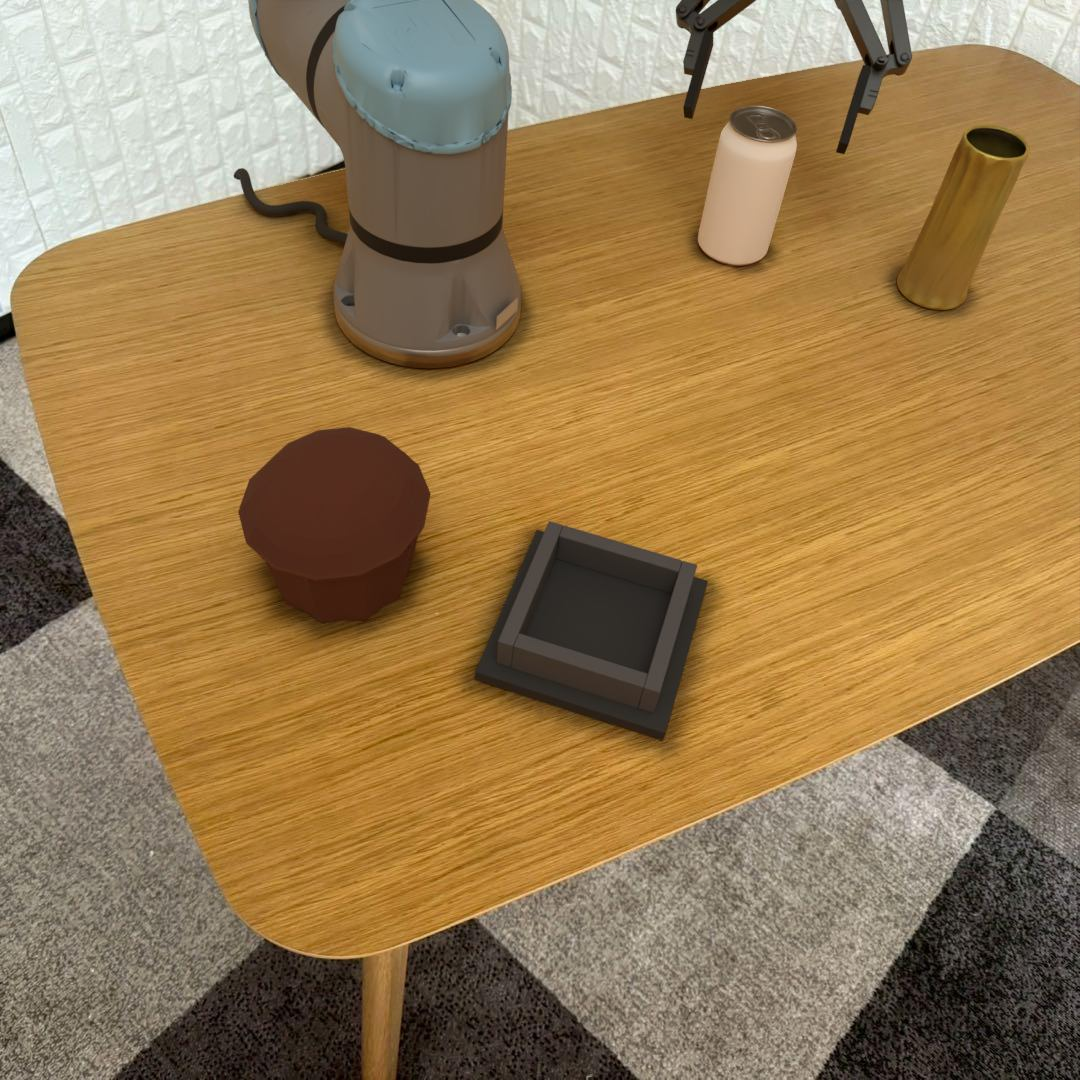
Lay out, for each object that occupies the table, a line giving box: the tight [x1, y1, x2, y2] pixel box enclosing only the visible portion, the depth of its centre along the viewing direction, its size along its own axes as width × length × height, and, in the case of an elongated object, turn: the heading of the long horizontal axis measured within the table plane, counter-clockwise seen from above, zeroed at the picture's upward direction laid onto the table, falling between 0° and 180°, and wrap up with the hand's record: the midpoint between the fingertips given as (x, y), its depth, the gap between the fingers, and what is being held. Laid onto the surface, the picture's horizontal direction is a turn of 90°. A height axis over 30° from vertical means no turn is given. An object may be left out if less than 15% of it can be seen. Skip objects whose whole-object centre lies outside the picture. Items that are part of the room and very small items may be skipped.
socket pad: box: [474, 520, 709, 741], centre depth 64 cm, size 12×12×4 cm
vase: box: [896, 124, 1031, 311], centre depth 85 cm, size 6×6×14 cm
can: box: [697, 104, 798, 267], centre depth 88 cm, size 6×6×12 cm
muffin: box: [237, 426, 432, 624], centre depth 63 cm, size 12×11×10 cm
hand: (763, 131), depth 88 cm, fingers open, 13 cm apart
